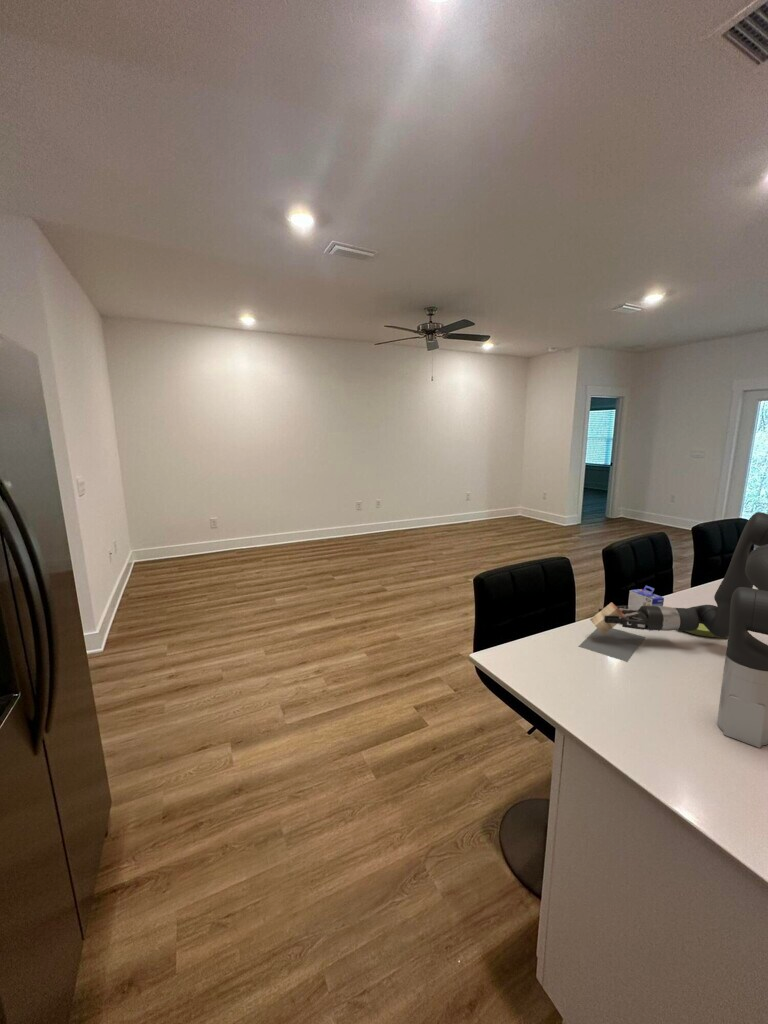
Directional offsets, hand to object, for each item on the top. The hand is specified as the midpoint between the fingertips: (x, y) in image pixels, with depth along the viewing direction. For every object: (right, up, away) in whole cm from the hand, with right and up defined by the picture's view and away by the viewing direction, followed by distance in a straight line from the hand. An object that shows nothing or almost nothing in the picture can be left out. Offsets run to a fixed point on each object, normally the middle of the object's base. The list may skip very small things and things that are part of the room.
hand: (602, 615), depth 134 cm
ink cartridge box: (+22, -7, +14) cm, 27 cm away
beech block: (-1, -4, +1) cm, 4 cm away
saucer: (+41, -8, +13) cm, 43 cm away
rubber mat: (+4, -9, +1) cm, 10 cm away
